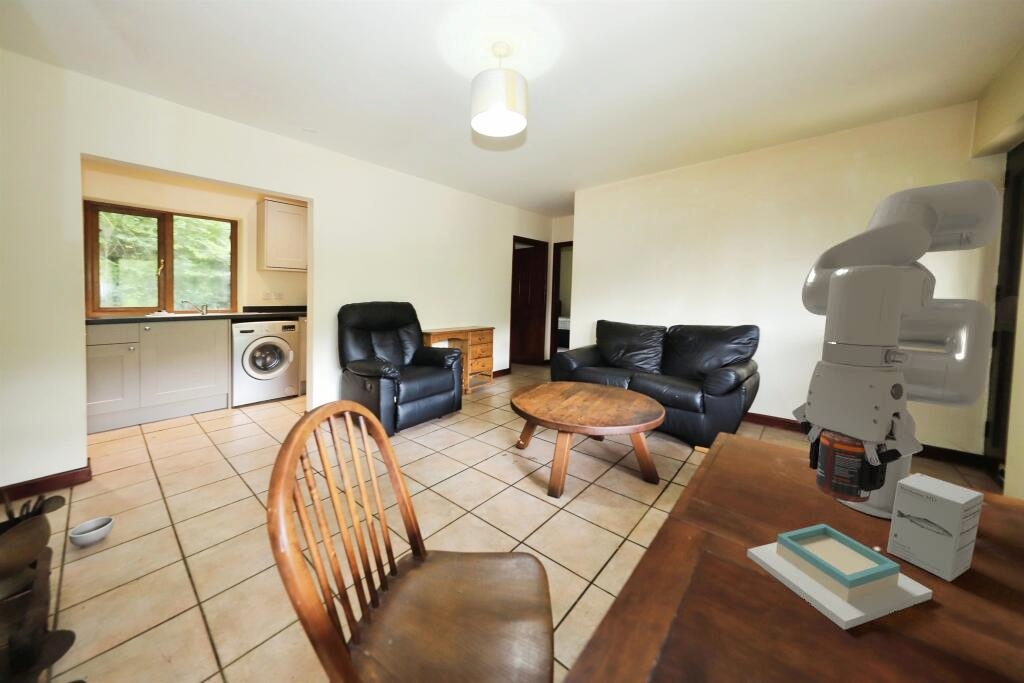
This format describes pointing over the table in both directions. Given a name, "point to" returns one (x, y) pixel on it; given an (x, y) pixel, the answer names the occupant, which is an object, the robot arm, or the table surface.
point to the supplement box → (935, 525)
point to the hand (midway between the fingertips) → (843, 476)
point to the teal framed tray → (838, 575)
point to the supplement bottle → (841, 467)
